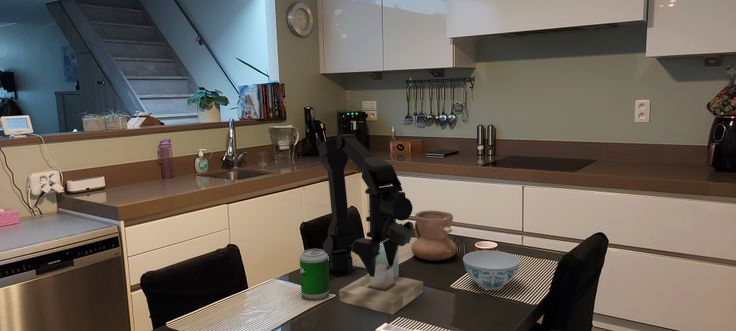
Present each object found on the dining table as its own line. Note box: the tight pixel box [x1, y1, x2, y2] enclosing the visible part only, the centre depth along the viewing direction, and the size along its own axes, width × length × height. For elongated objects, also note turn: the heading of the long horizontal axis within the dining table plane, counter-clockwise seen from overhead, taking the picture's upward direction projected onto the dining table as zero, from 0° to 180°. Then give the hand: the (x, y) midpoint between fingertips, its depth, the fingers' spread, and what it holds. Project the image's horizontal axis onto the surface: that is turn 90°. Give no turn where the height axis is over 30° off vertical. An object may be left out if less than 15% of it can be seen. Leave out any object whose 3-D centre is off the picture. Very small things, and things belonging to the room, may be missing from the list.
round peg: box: [375, 245, 400, 277], centre depth 152 cm, size 7×7×8 cm
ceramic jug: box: [411, 209, 458, 262], centre depth 168 cm, size 18×14×14 cm
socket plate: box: [338, 273, 424, 315], centre depth 137 cm, size 16×16×3 cm
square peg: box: [370, 264, 394, 292], centre depth 137 cm, size 4×4×8 cm
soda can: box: [299, 248, 330, 300], centre depth 139 cm, size 8×8×12 cm
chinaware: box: [462, 250, 521, 291], centre depth 142 cm, size 15×15×8 cm
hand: (381, 270), depth 136 cm, fingers open, 9 cm apart
